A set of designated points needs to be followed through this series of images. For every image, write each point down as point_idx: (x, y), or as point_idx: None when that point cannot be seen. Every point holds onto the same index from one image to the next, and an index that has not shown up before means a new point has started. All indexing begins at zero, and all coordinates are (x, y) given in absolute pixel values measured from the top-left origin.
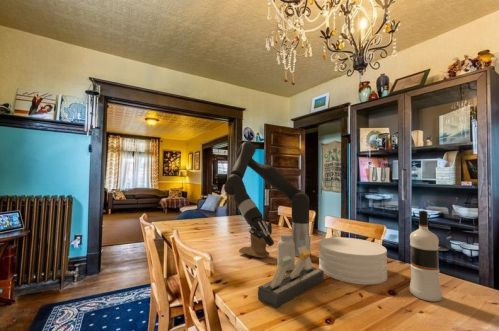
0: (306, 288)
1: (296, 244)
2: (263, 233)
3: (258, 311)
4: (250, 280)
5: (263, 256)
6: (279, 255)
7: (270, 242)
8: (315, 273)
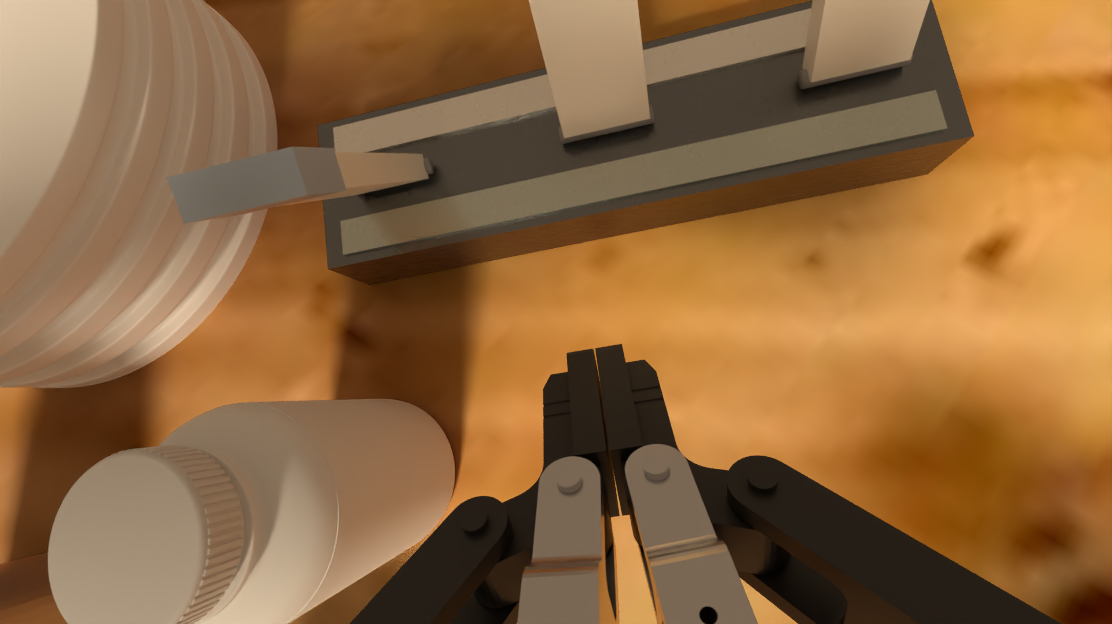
0: None
1: (323, 190)
2: (706, 520)
3: (1013, 55)
4: (806, 448)
5: None
6: (404, 501)
7: (627, 369)
8: (413, 107)
